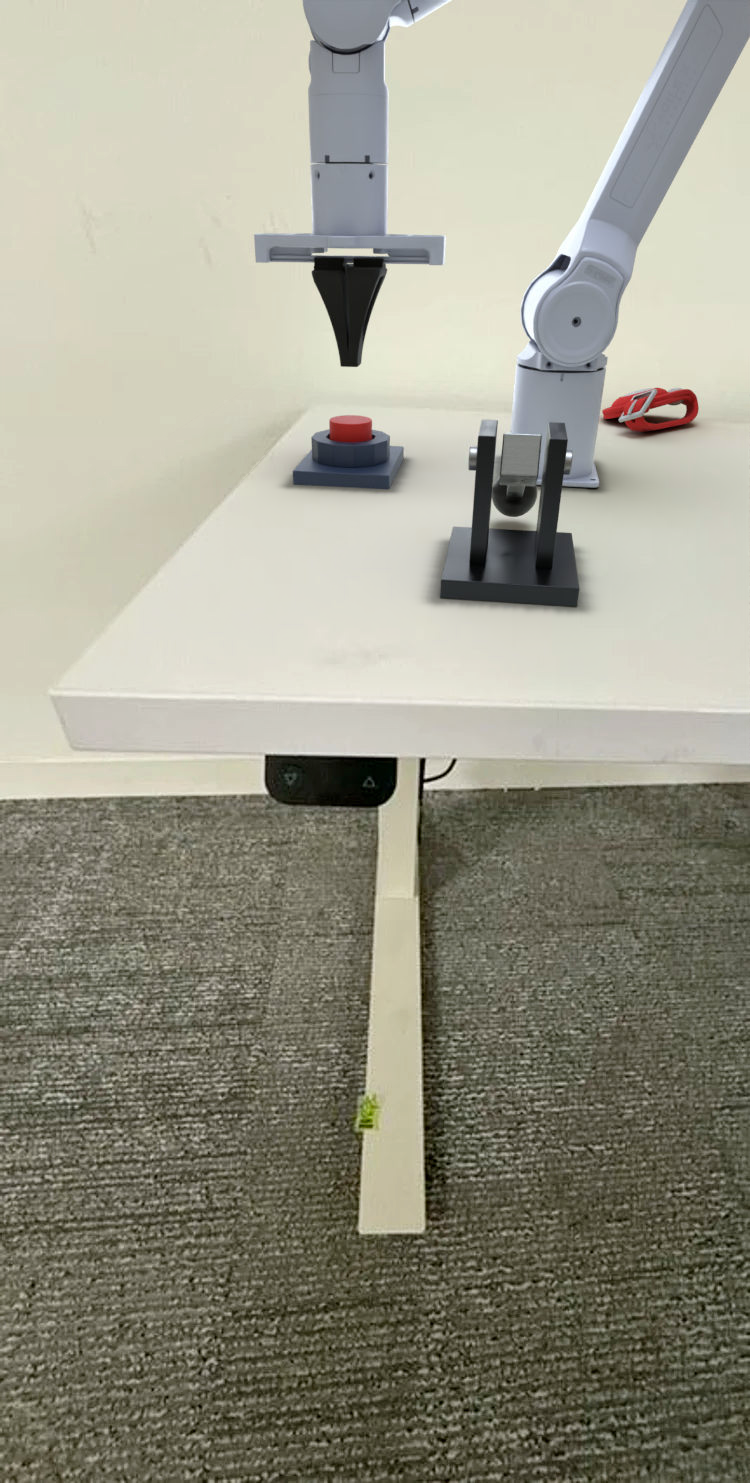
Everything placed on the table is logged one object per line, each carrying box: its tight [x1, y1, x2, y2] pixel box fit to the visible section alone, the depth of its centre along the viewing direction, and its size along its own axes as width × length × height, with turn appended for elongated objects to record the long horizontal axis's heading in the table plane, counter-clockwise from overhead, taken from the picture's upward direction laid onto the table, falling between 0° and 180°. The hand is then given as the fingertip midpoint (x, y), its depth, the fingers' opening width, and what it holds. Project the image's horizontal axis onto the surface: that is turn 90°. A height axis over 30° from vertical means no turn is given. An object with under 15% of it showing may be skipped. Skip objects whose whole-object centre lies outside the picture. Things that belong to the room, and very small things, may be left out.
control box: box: [292, 428, 405, 490], centre depth 74 cm, size 10×8×3 cm
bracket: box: [439, 419, 580, 608], centre depth 53 cm, size 10×8×9 cm
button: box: [328, 414, 373, 442], centre depth 73 cm, size 4×4×2 cm
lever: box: [491, 432, 542, 518], centre depth 56 cm, size 13×3×3 cm, turn 172°
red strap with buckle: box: [601, 387, 699, 433], centre depth 91 cm, size 12×4×10 cm
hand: (351, 365), depth 71 cm, fingers closed
